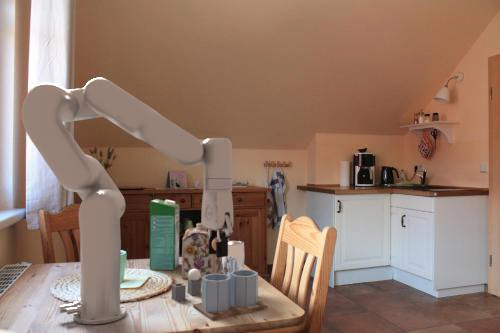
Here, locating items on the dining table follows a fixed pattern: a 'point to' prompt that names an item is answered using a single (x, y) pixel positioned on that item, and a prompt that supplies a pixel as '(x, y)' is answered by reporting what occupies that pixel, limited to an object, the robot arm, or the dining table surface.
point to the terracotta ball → (214, 243)
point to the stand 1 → (178, 292)
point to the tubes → (229, 290)
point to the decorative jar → (198, 253)
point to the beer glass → (233, 257)
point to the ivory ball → (194, 274)
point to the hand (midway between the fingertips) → (218, 254)
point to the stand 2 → (194, 287)
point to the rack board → (230, 310)
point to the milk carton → (164, 235)
